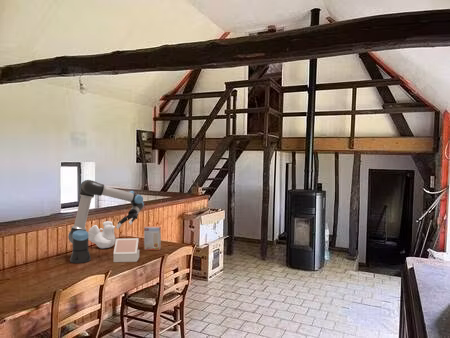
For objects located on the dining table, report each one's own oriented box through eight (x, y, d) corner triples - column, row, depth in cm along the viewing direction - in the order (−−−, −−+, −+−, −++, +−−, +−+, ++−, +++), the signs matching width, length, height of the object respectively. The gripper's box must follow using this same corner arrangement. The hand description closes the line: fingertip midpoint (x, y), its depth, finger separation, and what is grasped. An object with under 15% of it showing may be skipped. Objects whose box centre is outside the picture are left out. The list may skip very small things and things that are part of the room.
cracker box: (161, 249, 318) (161, 226, 317) (159, 250, 312) (159, 227, 311) (146, 248, 319) (146, 225, 319) (143, 250, 313) (143, 227, 313)
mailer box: (117, 257, 289) (117, 250, 288) (139, 257, 290) (139, 249, 290) (113, 262, 275) (113, 254, 274) (136, 261, 276) (136, 254, 276)
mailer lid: (116, 239, 284) (116, 238, 284) (138, 238, 286) (138, 238, 285) (113, 254, 274) (113, 253, 274) (136, 253, 276) (136, 253, 276)
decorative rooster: (118, 246, 329) (118, 219, 328) (110, 250, 313) (110, 222, 313) (93, 244, 332) (93, 218, 332) (84, 248, 317) (84, 221, 316)
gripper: (147, 211, 306) (137, 225, 287) (125, 219, 315) (114, 233, 296) (142, 204, 304) (132, 217, 285) (120, 213, 312) (109, 226, 293)
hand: (123, 225), depth 290 cm, fingers open, 13 cm apart
